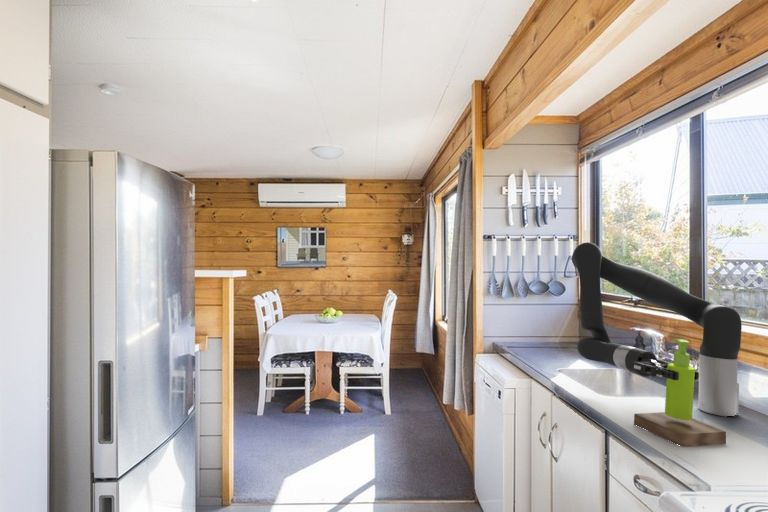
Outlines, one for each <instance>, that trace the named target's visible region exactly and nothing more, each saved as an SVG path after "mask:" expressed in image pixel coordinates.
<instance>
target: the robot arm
mask: <svg viewBox="0 0 768 512" xmlns="http://www.w3.org/2000/svg"><path fill="white" fill-rule="evenodd" d="M571 263H572V265H573V266H574V268H576V269H577V271H578V272H577V273H578V276H579V277H578V278H579V312H580V313H579V314H580V325H581V328H582V329H583V330H585V331H589V332H590V333H591V336H592V337H584V338H583V337H582V338H581V339H580V340H579V341H578V343H577V346H576V348H577V352H578V353H579V355H580V356H581V357H582V358H584V359H586V360H588V361H589V360H590V361H594V362H598V363H605V364H608V365H611V366H614V367H616V368H619V369H622V370H623V371H626V372H629V373H632V374H635V375H637V376H641V377H645V378H648V377H659V378H666V379H667V378H669V379H672V380H678V378H679V373H678V372H676V371H673V370H670V369H667V367H668V364H671V363H674V360H672V361H665V360H664V359H659V358H657V356H656V354H655V353H653V352H652V351H650V350H646V349H644V348H643V349H642V348H639V347H634V346H631V345H625V344H624V345H623V344H621V343H620V344H619V343H616V342H611V339H610V336H609V333H608V331H607V329H606V326H605V320H604V310H603V309H604V307H603V302H602V293H601V279H602V280H605V281H607V282H609V283H611V284H613V285H614V286H616V287H618V288H619V289H621V290H623V291H625V292H627V293H629V294H631V295H633V296H635V297H637V298H639V299H640V300H642V301H645V302H647V303H649V304H652V305H654V306H656V307H660V308H662V309H665V310H668V311H671V312H675V313H676V314H679V315H681V316H683V317H684V318H686V319H688V320H690V321H692V322H693V323H695V324H697V325H699V326H700V327H701V328H702V329H703V330H702V331H703V332H702V341H701V344H700V346H699V361H698V362H699V364H698V365H699V368H698V370H699V371H697V370H695V378H694V381H698V400H697V401H698V402H697V403H698V404H697V408H698V410H700V411H703V412H704V413H708V414H711V415H715V416H721V417H727V416H734V415H736V416H737V414H736V413H738V414H739V400H740V399H739V396H740V395H739V393H740V384H739V383H738V358H739V357H738V356H739V352H740V349H741V343H742V329H743V328H742V327H743V325H742V318H741V316H740V314H739V312H738V311H737V310H735V309H734V308H732V307H730V306H727V305H722V304H718V303H715V302H714V303H713V302H710V301H708V300H705V299H702V298H700V297H697V296H695V295H694V294H691V293H689V292H686V291H685V290H683V288H680V287H679V286H678V285H676V284H675V283H673V282H671V281H670V280H668V279H666V278H664V277H662V276H659V275H657V274H655V273H653V272H651V271H649V270H646V269H643V268H639V267H635V266H632V265H627V264H624V263H623V264H622V263H619V262H616V261H614V260H612V259H611V258H608V257H606V256H604V255H603V254H602V250H601V248H600V247H599V246H598V245H597V244H595V243H594V242H583V243H580V244H579V245H577V246H576V247H575V248H574V250H573V252H572V255H571ZM734 417H735V416H734Z"/></svg>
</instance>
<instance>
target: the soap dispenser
mask: <svg viewBox="0 0 768 512" xmlns="http://www.w3.org/2000/svg"><path fill="white" fill-rule="evenodd" d="M671 341H672V342H676V343H678V347H677V348H678V349H677V350H676V351H674V352H673V362H674V363H671V364H668V367H667V369H670V370H673V371H676V372H678V373H679V378H678V380H672V379H669V378H666V383H665V384H666V385H665V387H666V388H665V400H664V401H665V402H664V403H665V404H664V405H665V406H664V412H665V414H666V415H668V416H670V417H673V418H676V419H681V420H692V419H693V412H694V411H693V408H694V396H695V395H694V391H695V380H694V378H695V371H696V368H695V367H693V366H690V361H691V360H690V358H691V357H690V356H691V354H690V353H688V352H687V345H690V342H689V341H688V340H686V339H684V338H683V339H682V338H672V339H671Z"/></svg>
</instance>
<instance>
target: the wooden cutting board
mask: <svg viewBox="0 0 768 512" xmlns="http://www.w3.org/2000/svg"><path fill="white" fill-rule="evenodd" d="M633 425H634V426H636V425H637V426H636V427H638V426H639V427H638V428H640V427H641V428H640V429H642V428H644V429H646V430H648V431H647V432H649V433H651V434H653V435H655V436H656V437H659V436H660V437H659V438H661V437H662V439H663V438H664V440H666V441H668V440H669V441H668V442H670V441H671V442H670V443H672V442H673V443H672V444H674V443H675V444H674V445H676V444H678V445H680V446H686V447H696V446H698V445H699V447H700V446H712V445H725V444H727V431H725V430H723V429H722V428H721V429H720V428H718V427H717V426H716V427H715V426H713V425H711V424H708V423H705V422H702V421H701V420H700V421H699V420H697V419H694V418H692V420H681V419H676V418H673V417H670V416H668V415H666V414H665V411H662V412H645V413H644V412H642V413H641V412H640V413H634V415H633ZM644 429H643V430H644ZM646 430H645V431H646ZM678 445H677V446H678ZM680 446H679V447H680Z"/></svg>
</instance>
